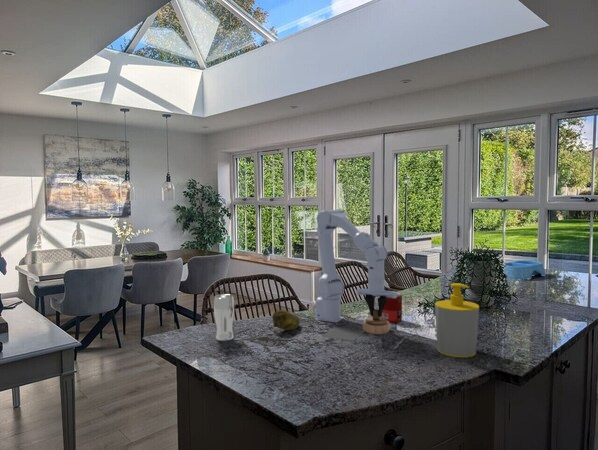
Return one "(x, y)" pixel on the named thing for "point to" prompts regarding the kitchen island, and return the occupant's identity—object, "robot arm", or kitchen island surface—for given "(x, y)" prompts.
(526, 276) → the dog bowl
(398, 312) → the canned food
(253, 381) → the kitchen island surface
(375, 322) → the lid
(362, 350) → the kitchen island surface
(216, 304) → the beer glass
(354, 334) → the mat
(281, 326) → the potato
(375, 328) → the tan round bowl
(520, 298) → the kitchen island surface
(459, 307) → the soap bottle
